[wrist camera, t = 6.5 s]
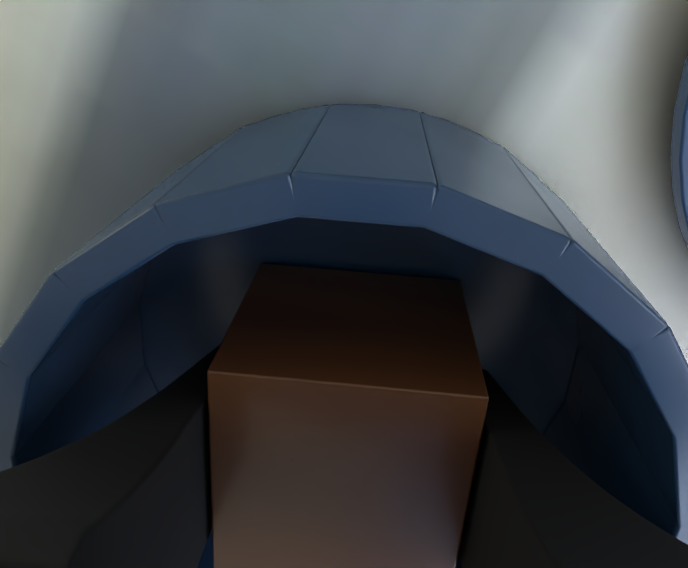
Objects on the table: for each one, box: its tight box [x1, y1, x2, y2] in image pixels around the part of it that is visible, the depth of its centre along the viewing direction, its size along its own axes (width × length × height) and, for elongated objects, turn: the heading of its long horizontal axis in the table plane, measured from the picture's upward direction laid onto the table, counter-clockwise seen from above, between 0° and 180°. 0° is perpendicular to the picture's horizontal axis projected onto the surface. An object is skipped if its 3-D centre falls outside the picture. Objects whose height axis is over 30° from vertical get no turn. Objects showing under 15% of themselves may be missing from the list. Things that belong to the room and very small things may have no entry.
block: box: [207, 263, 489, 568], centre depth 13 cm, size 4×4×4 cm
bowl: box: [0, 104, 688, 568], centre depth 13 cm, size 12×12×6 cm
